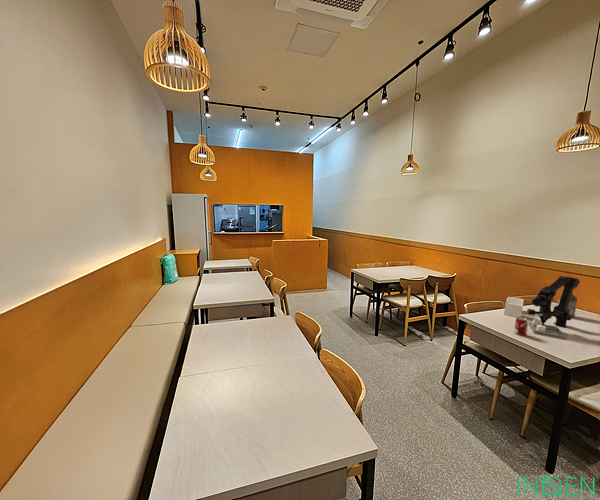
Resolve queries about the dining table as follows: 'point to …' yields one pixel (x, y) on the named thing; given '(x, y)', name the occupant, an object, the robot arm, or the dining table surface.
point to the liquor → (571, 305)
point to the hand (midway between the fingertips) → (542, 324)
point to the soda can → (521, 326)
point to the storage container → (513, 307)
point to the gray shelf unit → (548, 331)
